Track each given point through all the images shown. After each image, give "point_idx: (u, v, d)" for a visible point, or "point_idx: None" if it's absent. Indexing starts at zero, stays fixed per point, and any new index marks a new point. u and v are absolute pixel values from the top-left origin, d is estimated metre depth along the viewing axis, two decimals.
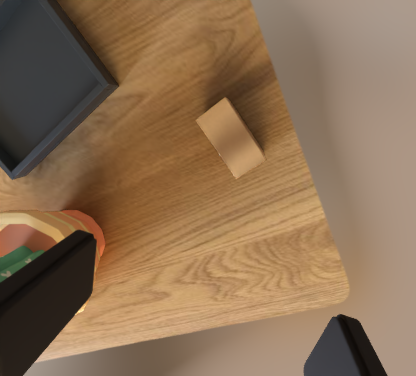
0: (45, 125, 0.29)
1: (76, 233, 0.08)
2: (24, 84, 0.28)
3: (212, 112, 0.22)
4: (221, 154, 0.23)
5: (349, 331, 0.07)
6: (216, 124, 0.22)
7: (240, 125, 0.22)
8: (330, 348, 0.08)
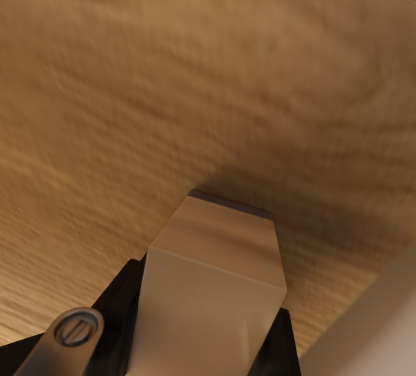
0: None
1: None
2: None
3: (214, 282, 0.06)
4: (134, 359, 0.07)
5: None
6: (190, 310, 0.06)
7: (242, 367, 0.06)
8: None
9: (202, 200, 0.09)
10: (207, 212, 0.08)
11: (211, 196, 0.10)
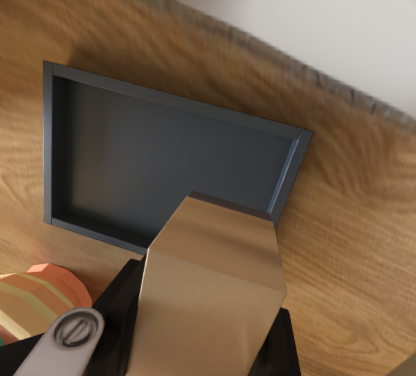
0: (141, 219, 0.21)
1: None
2: (165, 173, 0.19)
3: (213, 283, 0.06)
4: (133, 360, 0.07)
5: None
6: (190, 311, 0.06)
7: (241, 368, 0.06)
8: None
9: (202, 201, 0.09)
10: (206, 213, 0.08)
11: (211, 197, 0.10)
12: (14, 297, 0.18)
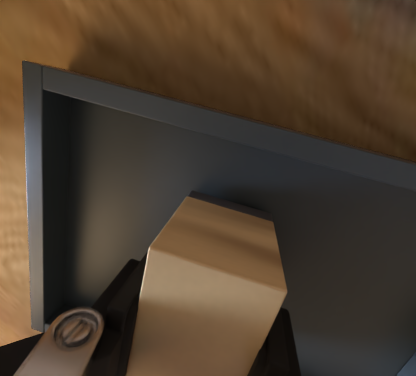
0: None
1: None
2: None
3: (213, 283, 0.06)
4: (134, 360, 0.07)
5: None
6: (190, 310, 0.06)
7: (242, 368, 0.06)
8: None
9: (202, 201, 0.09)
10: (207, 213, 0.08)
11: (211, 197, 0.10)
12: None
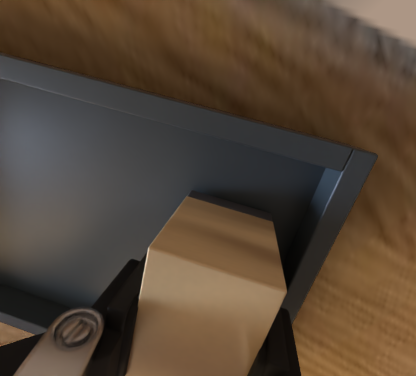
0: (71, 286, 0.13)
1: None
2: (101, 218, 0.11)
3: (213, 283, 0.06)
4: (133, 360, 0.07)
5: None
6: (190, 311, 0.06)
7: (242, 368, 0.06)
8: None
9: (202, 201, 0.09)
10: (206, 213, 0.08)
11: (211, 197, 0.10)
12: None
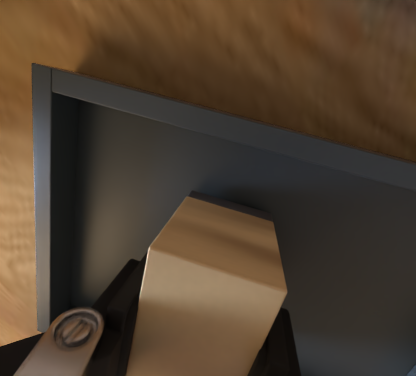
0: None
1: None
2: None
3: (214, 283, 0.06)
4: (134, 360, 0.07)
5: None
6: (190, 311, 0.06)
7: (242, 368, 0.06)
8: None
9: (202, 201, 0.09)
10: (207, 213, 0.08)
11: (211, 197, 0.10)
12: None
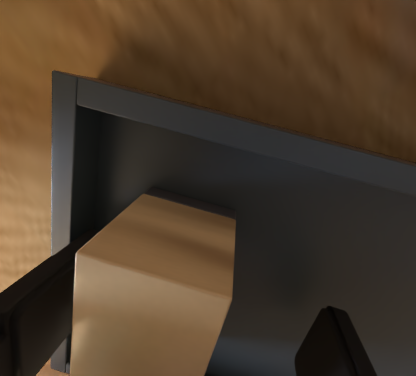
0: (233, 357, 0.12)
1: (88, 232, 0.09)
2: (298, 292, 0.10)
3: (151, 291, 0.05)
4: None
5: (337, 322, 0.08)
6: (130, 321, 0.05)
7: None
8: (319, 338, 0.08)
9: (159, 198, 0.08)
10: (161, 212, 0.07)
11: (171, 194, 0.09)
12: None
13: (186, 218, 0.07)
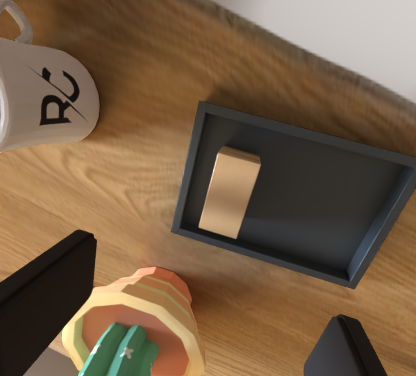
0: (255, 229, 0.25)
1: (76, 233, 0.08)
2: (284, 191, 0.23)
3: (238, 163, 0.18)
4: (208, 199, 0.20)
5: (349, 331, 0.07)
6: (230, 175, 0.19)
7: (246, 196, 0.19)
8: (330, 348, 0.08)
9: (230, 147, 0.22)
10: (233, 150, 0.21)
11: (233, 147, 0.22)
12: (163, 296, 0.22)
13: (242, 152, 0.21)
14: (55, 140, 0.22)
